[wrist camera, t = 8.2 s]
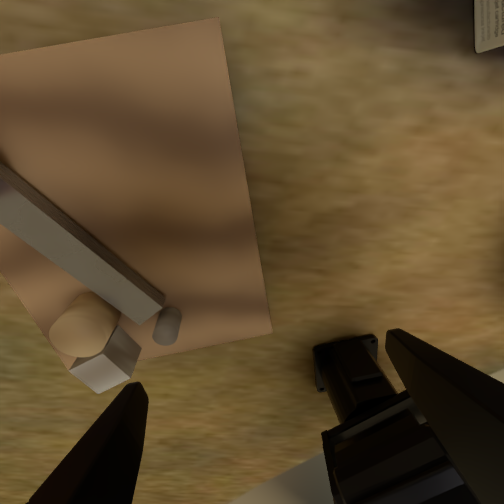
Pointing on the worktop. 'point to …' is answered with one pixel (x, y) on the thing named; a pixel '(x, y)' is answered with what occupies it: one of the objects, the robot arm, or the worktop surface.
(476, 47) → the ink box
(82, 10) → the worktop surface
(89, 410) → the worktop surface
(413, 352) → the robot arm
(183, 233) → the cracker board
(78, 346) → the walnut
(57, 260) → the lever
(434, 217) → the worktop surface
